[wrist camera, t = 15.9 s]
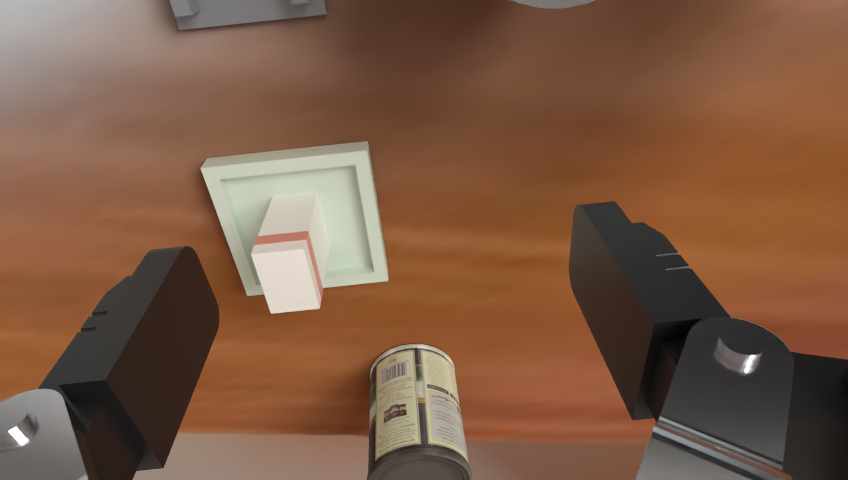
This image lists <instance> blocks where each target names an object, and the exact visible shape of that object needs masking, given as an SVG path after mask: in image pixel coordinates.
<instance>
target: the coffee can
mask: <svg viewBox="0 0 848 480" xmlns="http://www.w3.org/2000/svg"><path fill="white" fill-rule="evenodd" d="M370 380H371V382H370V426H369V466H368V467H369V468H368V476H367V480H472V474H471V470H470V467H469V464H468V457H467V450H466V443H465V437H464V430H463V424H462V418H461V411H460V405H459V398H458V392H457V385H456V379H455V367H454V364H453V362H452V360H451V359H450V358H449V356H448V355H447V354H445V353H444V352H443V351H441V350H439V349H437V348H435V347H432V346H428V345H424V344H405V345H401V346H398V347H395V348H392V349H390V350H388V351H386V352H384V353H383V354H382V355H380V356H379V357H378V358H377V359H376V360H375V362H374V363H373V365H372V367H371V371H370Z"/></svg>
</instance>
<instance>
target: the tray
mask: <svg viewBox="0 0 848 480" xmlns="http://www.w3.org/2000/svg"><path fill="white" fill-rule="evenodd" d="M201 171H202V174H203V177H204V179H205V182H206V185H207V188H208V190H209V193H210V196H211V198H212V201H213V204H214V207H215V209H216V212H217V215H218V217H219V220H220V223H221V226H222V228H223V231H224V234H225V237H226V239H227V242H228V245H229V247H230V250H231V253H232V256H233V258H234V261H235V264H236V266H237V269H238V272H239V275H240V277H241V280H242V283H243V286H244V288H245V291H246V294H247V296H253V295H262V294H264V292H263V289H262V286H261V283H260V280H259V277H258V274H257V271H256V268H255V265H254V262H253V259H252V256H251V253H252V250H253V247H254V242H255V240H256V237H257V236H258V234H259V232H260V229H261V226H262V224H263V221H264V218H265V216H266V213H267V210H268V208H269V205H270V202H271V200H272V197H273V196H280V195H290V194H299V193H309V192H317V193H318V197H319V202H320V206H321V211H322V215H323V219H324V224H325V228H326V232H327V237H328V241H329V246H330V247H329V254H328V260H327V266H326V272H325V278H324V285H323V288H327V287H337V286H346V285H355V284H365V283H374V282H383V281H388V265H387V258H386V252H385V246H384V239H383V233H382V227H381V221H380V214H379V208H378V202H377V195H376V189H375V183H374V176H373V170H372V164H371V157H370V151H369V145H368V141H363V142H354V143H344V144H335V145H325V146H316V147H307V148H297V149H288V150H278V151H269V152H260V153H250V154H241V155H231V156H222V157H213V158H207V159H206V161H205V162H204V164H203V165H202V167H201Z"/></svg>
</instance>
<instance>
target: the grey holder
mask: <svg viewBox="0 0 848 480" xmlns="http://www.w3.org/2000/svg"><path fill="white" fill-rule="evenodd" d="M169 1H170V4H171V7H172V10H173V13H174V16H175V19H176V22H177V25H178V28H179V30H185V29H194V28H204V27H213V26H223V25H232V24H242V23H251V22H261V21H270V20H280V19H289V18H298V17H308V16H317V15H327V8H326V2H325V0H169Z"/></svg>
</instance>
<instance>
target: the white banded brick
mask: <svg viewBox="0 0 848 480" xmlns="http://www.w3.org/2000/svg"><path fill="white" fill-rule="evenodd" d="M329 247H330V246H329V241H328V237H327V232H326V228H325V224H324V219H323V215H322V211H321V206H320V202H319V197H318V193H317V192H309V193H299V194H290V195H280V196H273V197H272V200H271V202H270V205H269V208H268V210H267V213H266V216H265V218H264V221H263V224H262V226H261V229H260V232H259V234H258V236H257V237H256V240H255V242H254V247H253V250H252V253H251V256H252V259H253V262H254V265H255V268H256V271H257V274H258V277H259V280H260V283H261V286H262V289H263V292H264V295H265V298H266V300H267V303H268V306H269V309H270V312H271V314H273V313H282V312H292V311H301V310H311V309H320V303H321V299H322V296H323V285H324V278H325V272H326V266H327V260H328V254H329Z"/></svg>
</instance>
